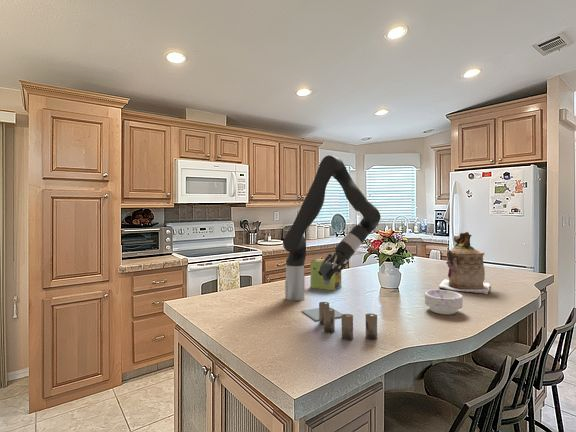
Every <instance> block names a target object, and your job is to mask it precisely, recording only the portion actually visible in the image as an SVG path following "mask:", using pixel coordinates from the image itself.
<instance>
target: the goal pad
mask: <svg viewBox="0 0 576 432" xmlns="http://www.w3.org/2000/svg"><path fill="white" fill-rule="evenodd" d="M329 308H331V309H334V310H335V320H337V319H342V315H343V314H344V313H342V312H340V311H338V310H336V309H335V308H333V307H331V306H329ZM301 313H303V315H305V316H307V317H308V318H310V319H312V320H313V321H315V322H319V307H317V308H310V309H302V310H301Z"/></svg>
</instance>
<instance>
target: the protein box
mask: <svg viewBox="0 0 576 432" xmlns="http://www.w3.org/2000/svg"><path fill="white" fill-rule="evenodd" d="M324 260H325V258H324V259H323V258H317V259H313V260H310V268H309V269H310V282H309V283H310V284H309V285H310V288H311V289H312V288H313V289H321V290H329V291H337V290H338V289H339V288H342V270H341V271H340V272H336V273H334V274H333V276H332V277H331V280H330V285H328V286H326V285H325V284H324V279H323V276H321V275H320V274H319V273H318V272H319V270H320V266H321V265H322V262H323V261H324ZM326 262H327V261H326ZM330 263H331V262H330ZM331 264H332V263H331ZM340 268H341V267H340ZM340 268H339V269H340Z"/></svg>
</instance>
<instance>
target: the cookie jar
mask: <svg viewBox="0 0 576 432" xmlns="http://www.w3.org/2000/svg"><path fill="white" fill-rule="evenodd" d="M471 237H473V236H472V235H471V234H470V233H469V231H466V232H460V233H459V235H455V236H454V237H453V242H454V243H456V244H455V246H454V247H452V248H451V249H449V250H447V252H446V257H447V261H446V262H445V263H446V265H447V267H448V274H447V278H448V279H446V278H445V279H443V280H442V281H441V282H440V284H439V285H438V289H440V288H442V289H444V290H447V291H455V292H458V291H459V292H469V293H474V294H475V293H477V294H482V295H488V293H489V292H490V286H491V284H490V282H485V279H486V278H485V277H486V273H485V272H486V271H485V265H484V255H485V252H484V251H481V250H478V249H475V248H474V247H473V246H472V245H471Z"/></svg>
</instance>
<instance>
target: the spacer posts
mask: <svg viewBox="0 0 576 432" xmlns="http://www.w3.org/2000/svg"><path fill="white" fill-rule="evenodd" d="M329 307H330V303H329V302H327V301H320V302H318V308H319V321H318V323H319V325H322V326H323V333H326V334H333V333H335V331H336V329H335V328H336V327H335V326H336V324H335V321H336V319H335V310H336V309H335V308H333V309H331V308H332V307H331V308H329ZM334 309H335V310H334ZM342 314H343V315H342V318H341V339H342V340H343V341H353V339H354V315H352V314H351V313H342ZM365 339H366V340H369V341H375V340H378V314H376V313H371V312H370V313H365Z"/></svg>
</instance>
